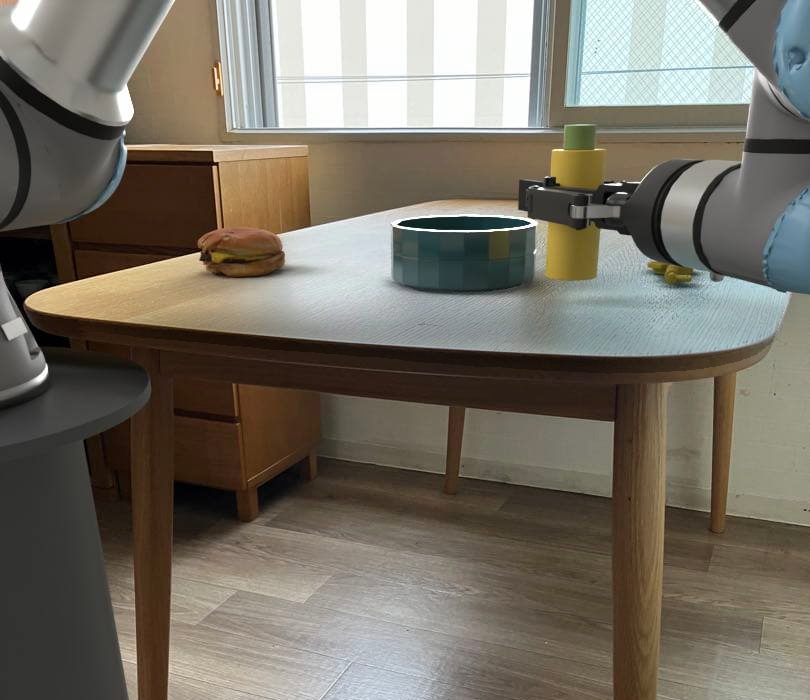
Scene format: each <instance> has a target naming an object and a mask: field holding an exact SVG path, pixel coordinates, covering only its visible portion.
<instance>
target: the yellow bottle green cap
mask: <svg viewBox="0 0 810 700" xmlns="http://www.w3.org/2000/svg"><path fill="white" fill-rule="evenodd" d="M597 129H598V125H597V124H564V129H563V145H562V147H563V148H556V149H555V148H554V149H552V150H551V158H550V159H551V160H550V177H556V183H560V186H562V187H576V188H589V189H597V188H598V187H599V186H600V185H602V184H604V180H605V175H606V164H607V163H606V160H607V149H606V148H596V144H597V143H596V142H597V141H596V140H597ZM546 235H547V236H546V255H545V272H544V273H545V274H544V276H545V277H546V278H547V279H549V280H550V279H551V280H555V281H567V282H572V281H573V282H577V281H579V282H581V281H589V280H594V279H596V278H597V277H598V267H599V266H598V265H599V253H600V239H601V229H599V228H597V227H596V226H595V223H594V222H593V221H591V226H589V227H587V228H584V229H582V230H576V229H574V228H571V227H569V226H568V225H563V224H558V223H553V222H548V221H547V234H546Z"/></svg>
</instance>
